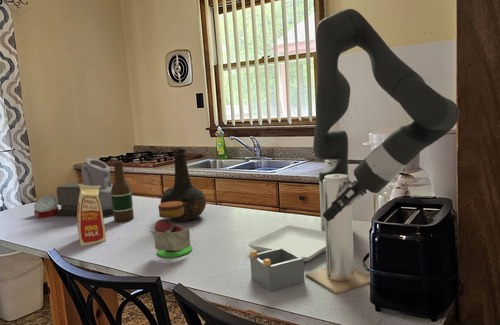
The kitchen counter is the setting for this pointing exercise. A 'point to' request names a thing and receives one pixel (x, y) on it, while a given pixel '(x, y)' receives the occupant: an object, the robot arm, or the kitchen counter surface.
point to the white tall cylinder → (338, 231)
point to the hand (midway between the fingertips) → (332, 213)
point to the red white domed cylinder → (46, 207)
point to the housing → (276, 268)
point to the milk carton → (90, 216)
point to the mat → (338, 286)
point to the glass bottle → (184, 190)
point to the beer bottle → (121, 195)
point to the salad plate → (293, 241)
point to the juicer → (92, 176)
